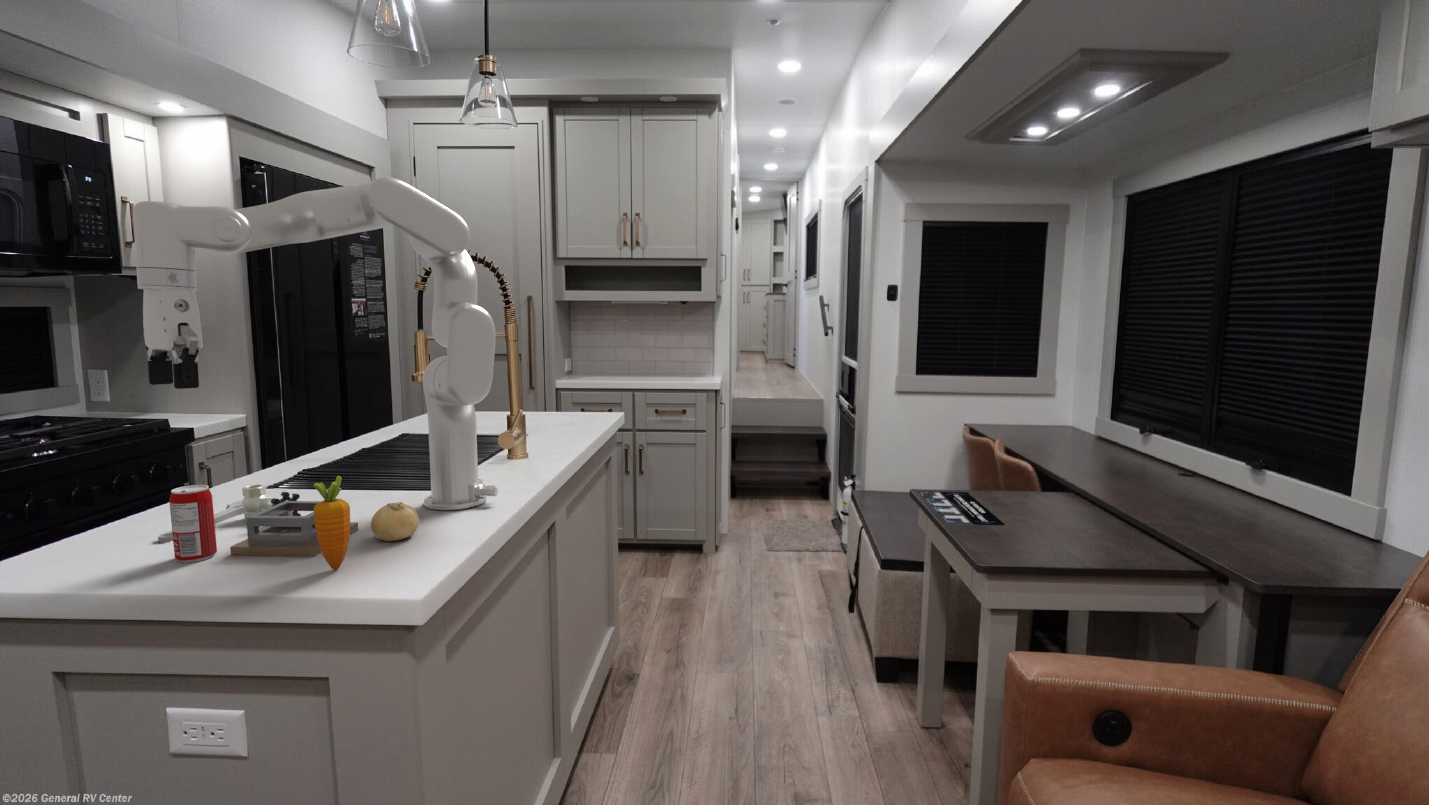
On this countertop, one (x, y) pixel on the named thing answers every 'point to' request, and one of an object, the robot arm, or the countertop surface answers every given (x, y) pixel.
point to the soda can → (192, 523)
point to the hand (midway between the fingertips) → (173, 386)
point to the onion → (394, 522)
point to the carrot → (332, 524)
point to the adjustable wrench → (230, 512)
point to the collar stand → (282, 532)
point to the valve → (262, 500)
